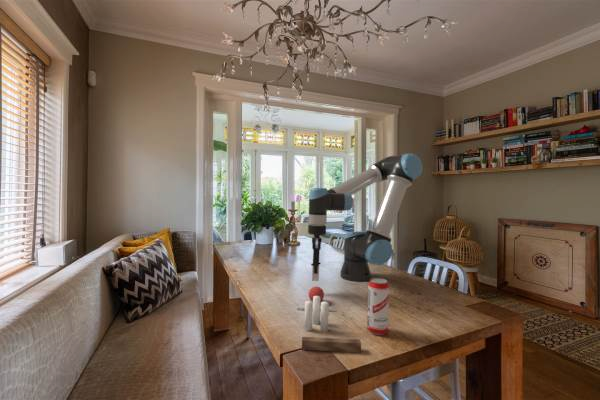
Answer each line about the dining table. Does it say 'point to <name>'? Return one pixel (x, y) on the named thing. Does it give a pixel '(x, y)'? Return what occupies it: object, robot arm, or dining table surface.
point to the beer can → (378, 306)
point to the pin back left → (308, 315)
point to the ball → (316, 293)
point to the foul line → (320, 309)
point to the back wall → (331, 344)
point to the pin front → (316, 310)
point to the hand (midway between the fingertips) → (315, 280)
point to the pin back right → (324, 316)
